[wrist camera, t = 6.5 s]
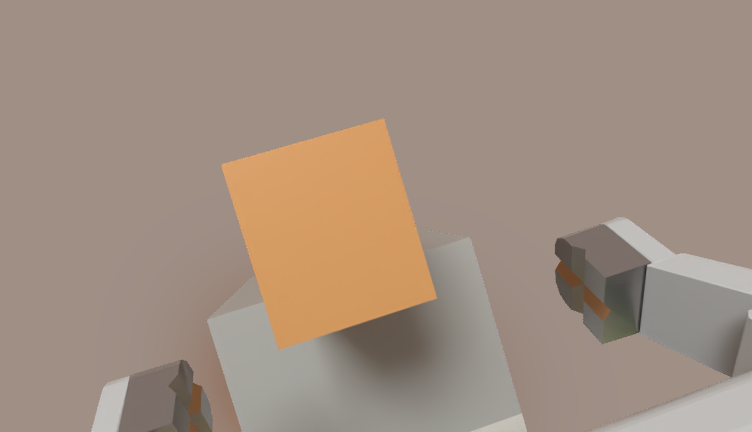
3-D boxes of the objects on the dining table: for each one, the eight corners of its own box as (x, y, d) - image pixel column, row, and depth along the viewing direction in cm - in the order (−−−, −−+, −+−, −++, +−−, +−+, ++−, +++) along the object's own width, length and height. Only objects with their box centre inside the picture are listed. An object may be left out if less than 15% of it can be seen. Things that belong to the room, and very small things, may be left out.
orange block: (278, 350, 11) (221, 164, 11) (304, 261, 31) (284, 196, 30) (437, 298, 11) (383, 118, 11) (361, 243, 31) (341, 179, 31)
